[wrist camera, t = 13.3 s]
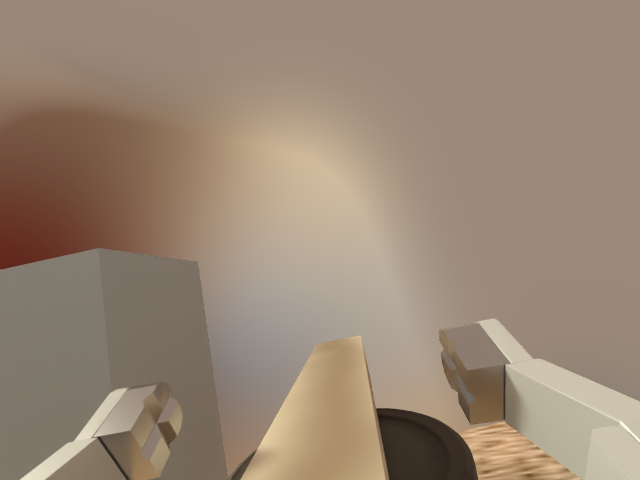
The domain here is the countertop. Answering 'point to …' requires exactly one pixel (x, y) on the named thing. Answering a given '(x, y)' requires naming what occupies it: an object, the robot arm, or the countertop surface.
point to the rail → (325, 422)
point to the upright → (103, 354)
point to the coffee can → (415, 449)
